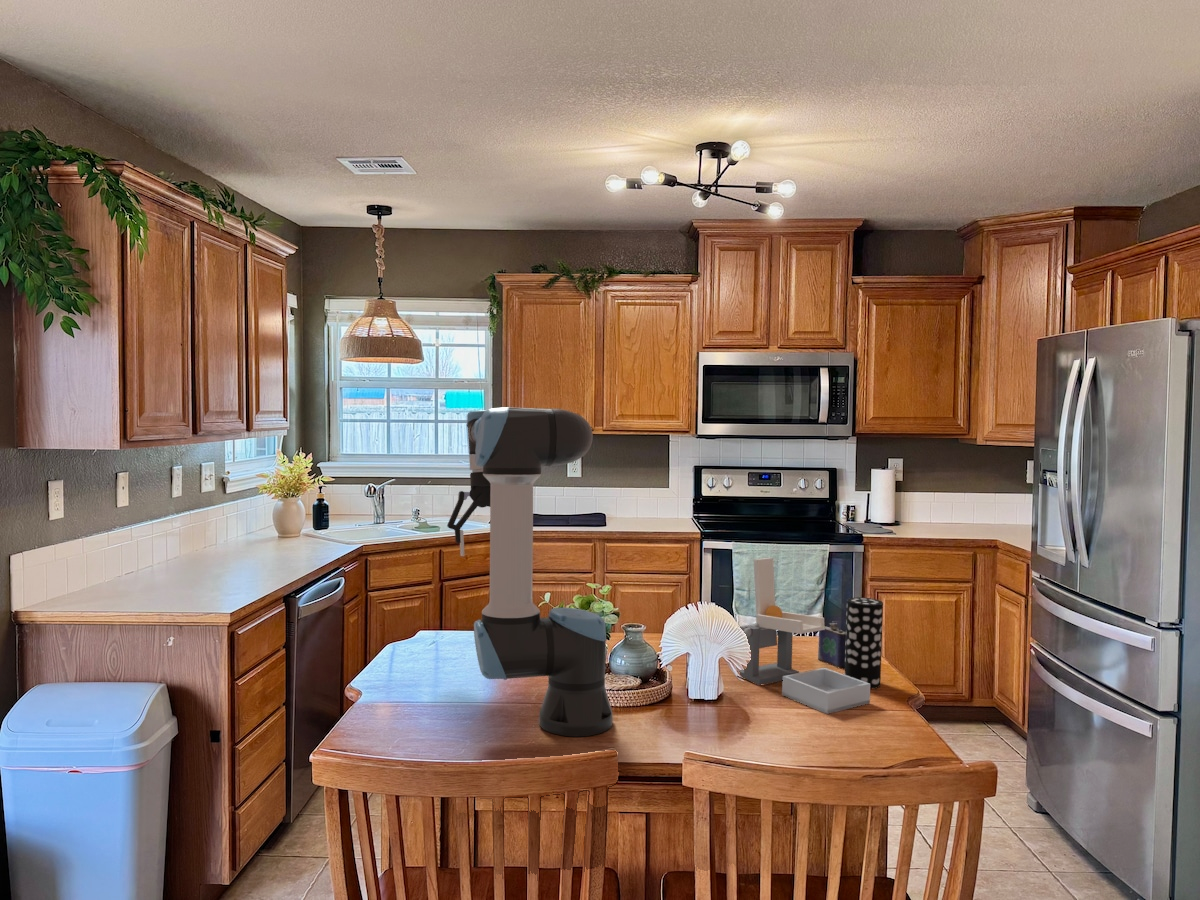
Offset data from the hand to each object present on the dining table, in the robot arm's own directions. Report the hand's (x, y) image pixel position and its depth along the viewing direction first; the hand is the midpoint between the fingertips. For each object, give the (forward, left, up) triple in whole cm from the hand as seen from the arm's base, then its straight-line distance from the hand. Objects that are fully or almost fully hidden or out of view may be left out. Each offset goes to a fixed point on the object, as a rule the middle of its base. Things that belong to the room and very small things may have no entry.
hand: (489, 553), depth 216 cm
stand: (-31, -64, -27) cm, 76 cm away
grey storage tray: (-49, -69, -27) cm, 89 cm away
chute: (-35, -65, -20) cm, 76 cm away
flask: (-25, -86, -28) cm, 93 cm away
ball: (-32, -64, -11) cm, 73 cm away
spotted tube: (-41, -84, -28) cm, 97 cm away
